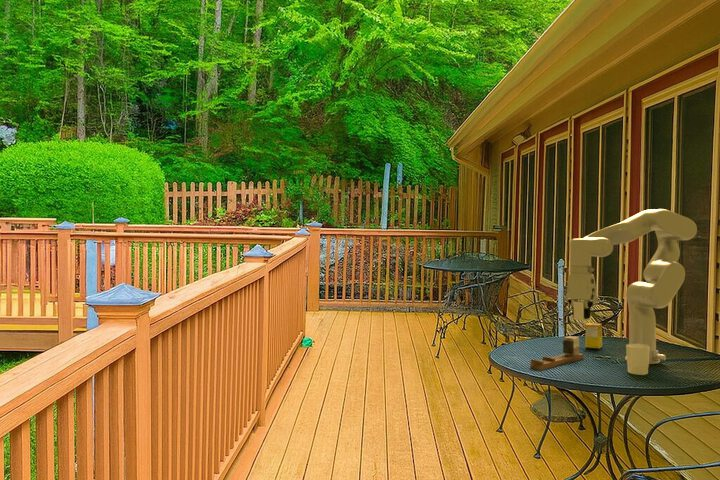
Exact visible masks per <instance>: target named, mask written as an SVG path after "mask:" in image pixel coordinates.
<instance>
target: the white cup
mask: <svg viewBox="0 0 720 480" xmlns="http://www.w3.org/2000/svg"><path fill="white" fill-rule="evenodd" d="M625 349H626V352H625V353H626V355H625V356H627V361H626V365H627V373H629V374H631V375H637V376H638V375H639V376H645V375H649V374H648V373H649V365H650V364H649V352H650V346H648V345H643V344H629V343H627V344H626V345H625Z"/></svg>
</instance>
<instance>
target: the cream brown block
mask: <svg viewBox="0 0 720 480" xmlns="http://www.w3.org/2000/svg"><path fill="white" fill-rule="evenodd" d="M584 308H585V304H584V300H578V301H574V317H573V320H574V321H581V322H582V321H588V320H590V318H591V317H592V316H591V310H590V318H588V319H584Z"/></svg>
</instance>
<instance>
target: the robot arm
mask: <svg viewBox="0 0 720 480" xmlns="http://www.w3.org/2000/svg"><path fill="white" fill-rule="evenodd" d="M654 231H655V232H654ZM650 232H654V233H655V235H656V239H657V248H656V251H655V253H654V254H653V256H652V257H651V259H650V260H649V262H648V263H647V264H646V267H645V268H644V270H643V274H642V275H643V279H644V280H645V281H646V282H645V281H635V282H631V284H629V285H628V287H627V289H626V293H625V294H626V301H627V305H628V312H629V313H628V315H629V316H628V319H629V320H628V327H629V330H628V337H629V339H628V340H629V342H628V344H643V345H648V346H650V352H649V365H655V364H657V365H658V364H659V363H661V361H666V359H667V357H666V354H660V353H659V350H657V346H656V345H657V340H656V338H657V337H656V335H657V333H656V332H657V331H656V329H657V328H656V325H657V324H656V323H657V321H656V320H657V319H656V313H655V310H654V309H664V308H667V307H668V305H669V304H670V303H671V302H672V301H673V299H674V298H675V296H676V294H677V292H678V291H679V290H680V288H681V287H682V285H683V283H684V281H685V280H686V279H685V278H686V270H685V267H684V266H683V265H682V264H681V263H680V262H678V260H679V259H680V255H681V250H680V246H679V244H678V241H690V240H692V239H694V237H695V236H696V235H697V232H698V227H697V224H696V223H695V221H694V220H692V219H690V217H687V216H684V215H682V214H680V213H676V212H674V211H672V210H668V209H664V208H658V209H655V208H654V209H652V208H651V209H646V210H643V211H640V212H638V213H636V214H634V215H632V216H630V217H629V218H627V219H624V220H623V221H620V222H619V223H615V224H613V225H609V226H607V227H604V228H602V229H599V230H596V231H594V232H592V233H590V234H588V235H585V236H584V237H583V238H571V239H570V242H569V253H570V254H569V255H570V257H569V261H570V263H569V264H570V265H569V269H570V270H569V271H570V273H569V274H568V279H567V286H566V294H565V296H564V297H563V298H564V300H565V301H566V302H568V304H569V305H570V307H571V308H572V310H571V312H572V313H571V314H572V317H573V318H574V301H584V304H585V308H584V319H588V318H589V319H591V317H590V311H591V308H592V307H593V306H594V305H595V304H597V303H598V302H599V298H598V297H597V286H596V279H595V275H594V274H593V273H592V272H594V271H595V268H594V267H592V257H595V258H598V257H599V258H603V257H604V258H605V257H608V256H609V255H611V254H612V253H613V251H614V246H615V245H623V244H627V243H631V242H633V241H636V239H639V238H640V237H642V236H644V235H647V234H648V233H650ZM624 359H625V361H626V362H627V355H625V356H624Z"/></svg>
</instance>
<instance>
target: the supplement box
mask: <svg viewBox="0 0 720 480" xmlns="http://www.w3.org/2000/svg"><path fill="white" fill-rule="evenodd" d="M602 324H603V323H597V322H596V323H595V322H587V323H585V325H584V327H585V328H584V329H585V331H584V332H585V349H586V350H594V351H595V350H597V351H600V350H601V349H602V348H603V325H602Z"/></svg>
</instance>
